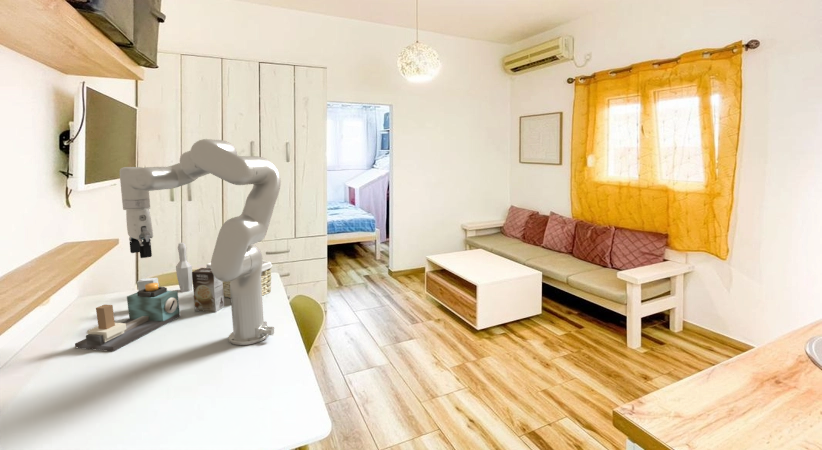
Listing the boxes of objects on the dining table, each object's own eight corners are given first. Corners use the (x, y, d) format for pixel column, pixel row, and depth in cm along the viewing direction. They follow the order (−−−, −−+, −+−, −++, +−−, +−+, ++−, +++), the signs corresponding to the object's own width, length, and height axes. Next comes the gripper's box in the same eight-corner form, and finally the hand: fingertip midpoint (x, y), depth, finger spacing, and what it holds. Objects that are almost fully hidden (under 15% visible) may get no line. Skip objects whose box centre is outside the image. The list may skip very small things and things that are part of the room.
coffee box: (194, 311, 155) (190, 271, 152) (204, 305, 161) (200, 267, 159) (216, 312, 154) (212, 272, 152) (225, 306, 160) (222, 268, 158)
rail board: (182, 316, 150) (179, 287, 148) (116, 351, 123) (111, 315, 121) (147, 314, 152) (144, 285, 150) (75, 347, 125) (70, 313, 123)
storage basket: (275, 292, 178) (273, 260, 175) (246, 304, 163) (244, 269, 161) (237, 285, 188) (235, 255, 185) (207, 295, 173) (204, 263, 171)
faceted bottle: (175, 290, 180) (170, 243, 176) (189, 287, 185) (185, 241, 181) (182, 293, 176) (177, 245, 173) (196, 289, 181) (192, 242, 178)
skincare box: (162, 305, 162) (159, 277, 160) (157, 309, 157) (153, 280, 155) (145, 306, 160) (142, 277, 159) (140, 310, 156) (136, 281, 154)
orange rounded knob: (161, 288, 147) (160, 283, 147) (152, 291, 143) (151, 286, 143) (151, 287, 148) (151, 282, 147) (142, 291, 144) (142, 285, 143)
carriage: (127, 333, 131) (123, 303, 130) (107, 342, 124) (103, 311, 123) (108, 331, 132) (104, 302, 131) (88, 341, 126) (84, 309, 124)
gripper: (158, 206, 129) (163, 257, 132) (140, 201, 140) (144, 248, 142) (131, 208, 123) (136, 261, 126) (114, 203, 134) (119, 252, 137)
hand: (141, 254), depth 134 cm, fingers open, 9 cm apart
